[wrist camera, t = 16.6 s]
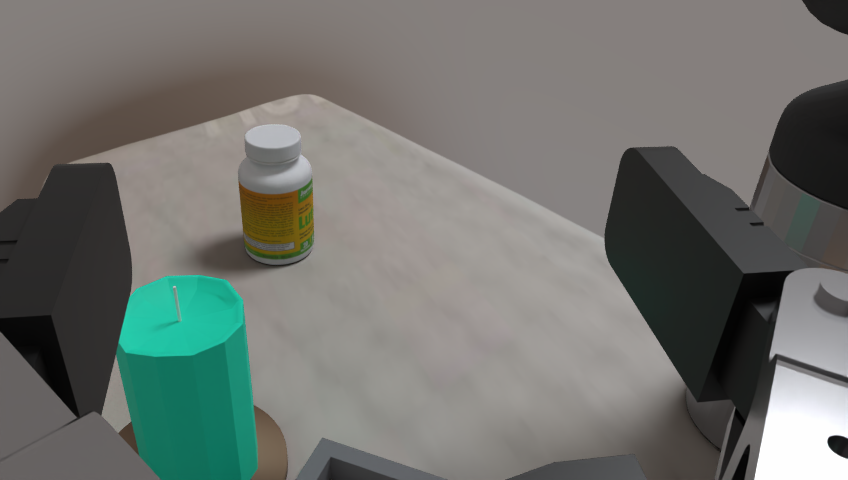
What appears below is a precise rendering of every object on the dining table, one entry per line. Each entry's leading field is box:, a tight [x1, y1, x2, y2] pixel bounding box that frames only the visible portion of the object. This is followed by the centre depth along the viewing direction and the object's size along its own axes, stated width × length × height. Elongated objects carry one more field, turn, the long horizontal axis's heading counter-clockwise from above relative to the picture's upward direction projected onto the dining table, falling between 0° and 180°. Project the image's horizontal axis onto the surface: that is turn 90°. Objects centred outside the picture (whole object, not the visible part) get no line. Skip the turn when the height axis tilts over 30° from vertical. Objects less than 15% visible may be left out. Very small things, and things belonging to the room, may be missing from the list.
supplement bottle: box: [238, 124, 314, 265], centre depth 57 cm, size 5×5×10 cm
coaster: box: [118, 406, 288, 480], centre depth 41 cm, size 10×10×1 cm
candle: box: [116, 275, 258, 480], centre depth 38 cm, size 6×6×12 cm
